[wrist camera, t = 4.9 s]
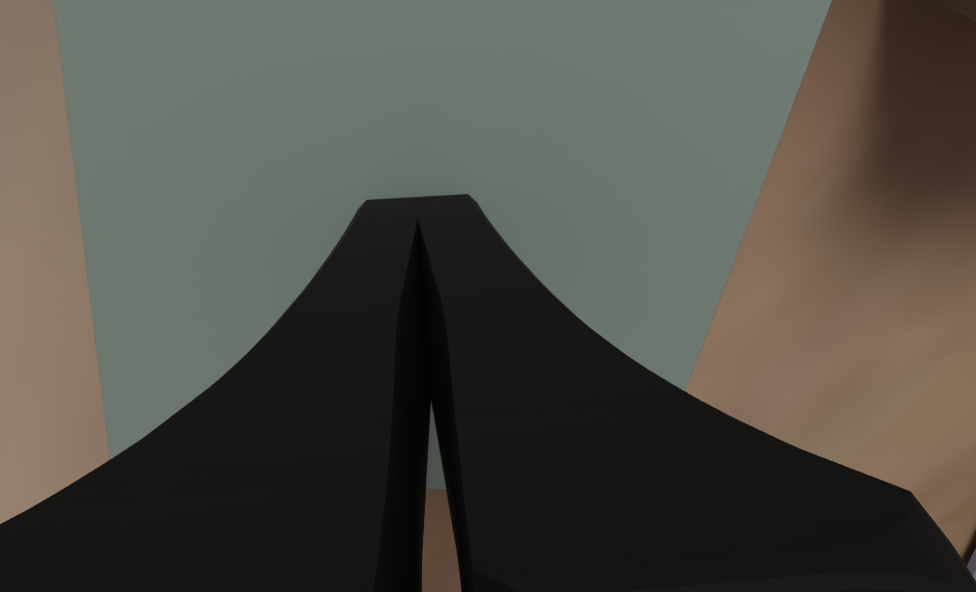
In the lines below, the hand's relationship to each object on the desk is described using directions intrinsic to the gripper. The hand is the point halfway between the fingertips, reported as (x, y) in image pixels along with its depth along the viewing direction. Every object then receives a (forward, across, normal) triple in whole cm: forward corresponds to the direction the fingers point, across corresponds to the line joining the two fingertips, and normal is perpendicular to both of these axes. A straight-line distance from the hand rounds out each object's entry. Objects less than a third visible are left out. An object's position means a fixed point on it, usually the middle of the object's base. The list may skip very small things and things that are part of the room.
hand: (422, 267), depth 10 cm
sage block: (+5, 0, 0) cm, 5 cm away
